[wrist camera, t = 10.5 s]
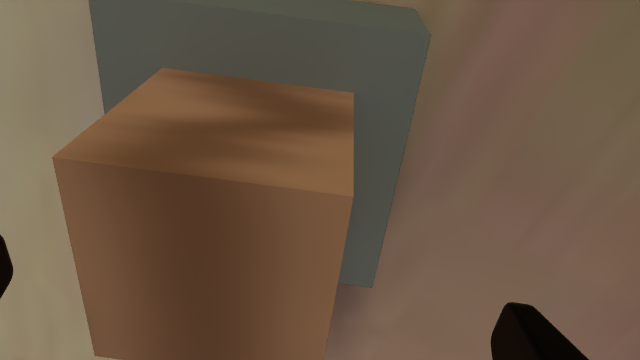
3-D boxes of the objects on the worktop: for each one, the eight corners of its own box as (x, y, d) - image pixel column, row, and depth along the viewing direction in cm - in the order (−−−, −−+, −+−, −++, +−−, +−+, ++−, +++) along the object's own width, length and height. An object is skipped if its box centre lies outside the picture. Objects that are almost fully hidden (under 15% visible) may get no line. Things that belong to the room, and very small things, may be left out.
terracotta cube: (353, 92, 14) (353, 196, 9) (330, 243, 17) (319, 385, 12) (162, 67, 14) (51, 156, 9) (172, 222, 17) (94, 355, 12)
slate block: (414, 9, 17) (431, 34, 13) (369, 228, 22) (372, 287, 18) (142, -27, 17) (86, -11, 13) (161, 201, 22) (124, 255, 18)
